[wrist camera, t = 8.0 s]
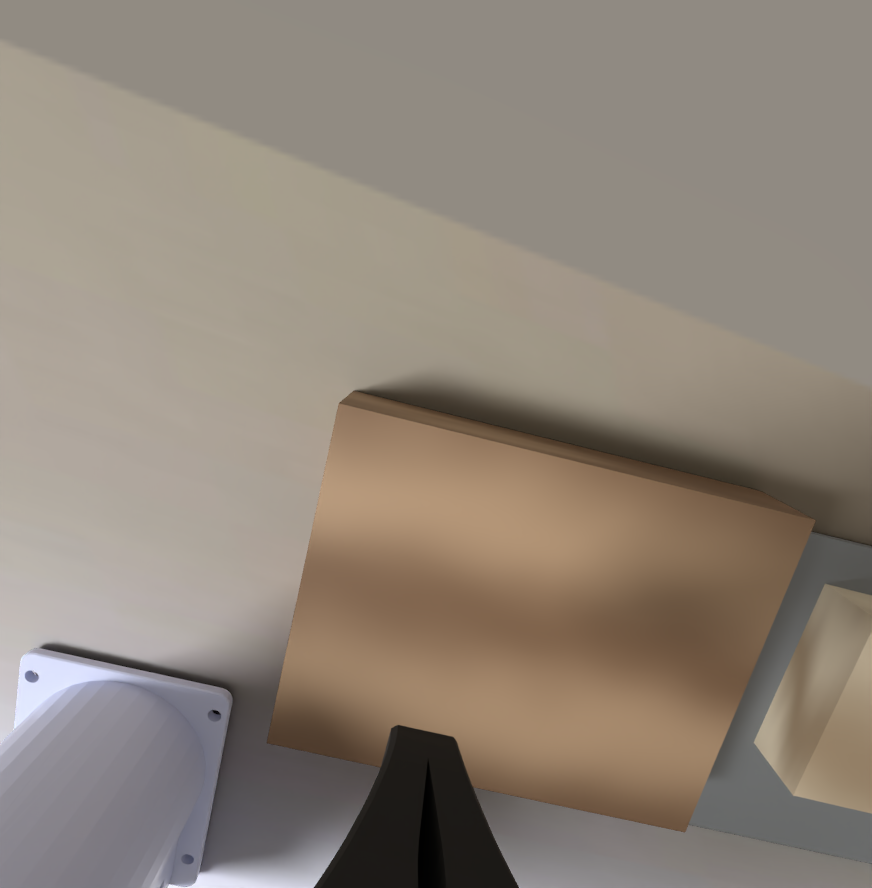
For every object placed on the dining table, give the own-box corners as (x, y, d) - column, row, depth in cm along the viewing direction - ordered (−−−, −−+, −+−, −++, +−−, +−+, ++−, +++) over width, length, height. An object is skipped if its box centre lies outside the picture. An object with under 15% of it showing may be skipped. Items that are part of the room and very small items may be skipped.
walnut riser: (653, 766, 23) (685, 832, 20) (289, 686, 22) (266, 742, 19) (760, 491, 20) (815, 520, 17) (353, 390, 19) (338, 403, 16)
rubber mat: (922, 867, 24) (930, 876, 23) (644, 807, 23) (647, 815, 23) (1070, 594, 21) (1082, 599, 21) (758, 518, 20) (765, 522, 20)
